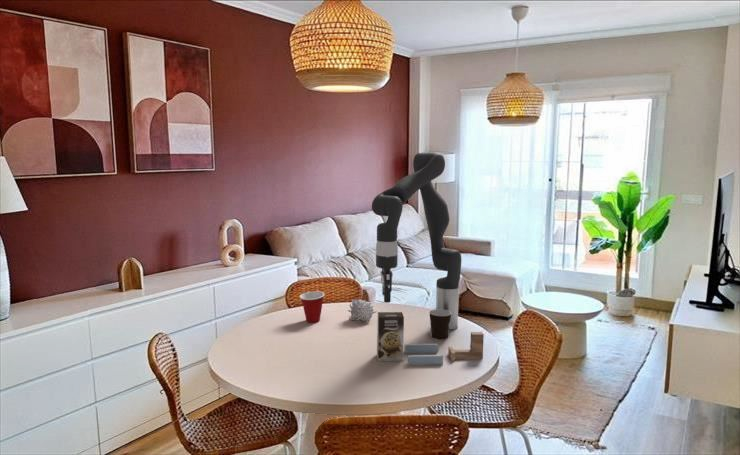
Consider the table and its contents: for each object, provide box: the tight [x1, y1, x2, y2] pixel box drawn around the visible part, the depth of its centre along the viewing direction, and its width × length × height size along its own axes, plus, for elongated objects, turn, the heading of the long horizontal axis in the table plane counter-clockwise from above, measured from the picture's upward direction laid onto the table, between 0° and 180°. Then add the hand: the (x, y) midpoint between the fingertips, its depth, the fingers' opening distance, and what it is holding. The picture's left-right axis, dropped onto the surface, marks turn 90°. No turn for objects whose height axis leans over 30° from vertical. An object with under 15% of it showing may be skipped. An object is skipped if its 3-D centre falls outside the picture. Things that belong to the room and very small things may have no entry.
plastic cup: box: [299, 290, 325, 324], centre depth 224 cm, size 11×11×12 cm
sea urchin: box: [347, 298, 378, 323], centre depth 224 cm, size 12×11×12 cm
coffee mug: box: [428, 308, 451, 341], centre depth 206 cm, size 12×9×10 cm
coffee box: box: [376, 311, 405, 362], centre depth 184 cm, size 9×6×16 cm
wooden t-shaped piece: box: [447, 331, 485, 362], centre depth 185 cm, size 6×12×9 cm, turn 92°
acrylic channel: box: [404, 343, 444, 366], centre depth 184 cm, size 12×12×3 cm
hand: (386, 298), depth 181 cm, fingers open, 8 cm apart
